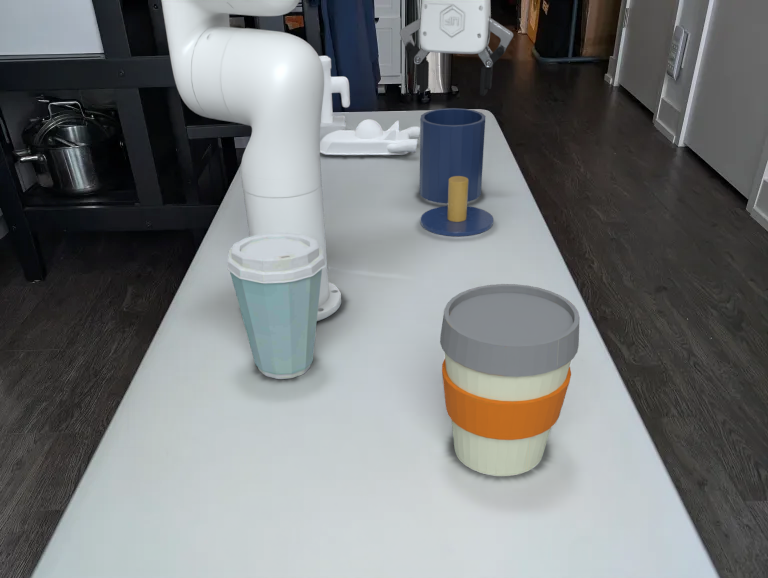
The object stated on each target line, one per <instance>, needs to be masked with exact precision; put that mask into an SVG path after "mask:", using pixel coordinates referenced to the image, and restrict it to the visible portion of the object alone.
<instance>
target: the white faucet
mask: <svg viewBox="0 0 768 578" xmlns="http://www.w3.org/2000/svg"><path fill="white" fill-rule="evenodd" d="M318 56H319V58H320V60H321V63H322V66H323V71H324V95H323V103H322V112H321V123H320V142H321V140H322V139H323V138H324V137H325V136H326V135H327V134H329V133H331V132H334V131H338V130H346V125H347V124H346V116H345V115H334V112H333V110H334V109H333V94H338V93H339V94H340V98H341V106H342V107H343V108H345V109H346V108H349V107H350V106H351V97H350V96H351V93H350V82H349V79H348V78H347V77H346V76H344V75H343V76H332V74H331V70H332V59H331V57H330V56H328V55H318Z"/></svg>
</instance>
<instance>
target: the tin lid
mask: <svg viewBox="0 0 768 578" xmlns="http://www.w3.org/2000/svg"><path fill="white" fill-rule="evenodd" d="M467 197H468V178H466V177H463V176H454V177H451V178H449V184H448V204H447V205H444V206H438V207H434V208H431V209H429V210H427V211H425V212H424V213H423V214H422V215H421V216H420V225H421V227H422V228H423V229H424V230H426V231H428V232H430V233H432V234H436V235H440V236H448V237H467V236H475V235H478V234H482V233H485V232H487V231H489V230H490V229H491V228H492V227H493V225H494V217H493V215H492V214H491V213H489V211H486V210H484V209H481V208H478V207H474V206H469V205H468V202H467Z"/></svg>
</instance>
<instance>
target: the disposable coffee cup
mask: <svg viewBox="0 0 768 578" xmlns="http://www.w3.org/2000/svg"><path fill="white" fill-rule="evenodd" d="M227 253H228V255H227V267H226V270H227V271H228V272H229V274H230V277H231V281H232V284H233V285H232V286H233V288H234V292H235V295H236V299H237V303H238V306H239V309H240V313H241V316H242V317H241V318H242V322H243V325H244V328H245V332H246V335H247V336H246V337H247V340H248V342H249V347H250V350H251V353H252V357H253V361H254V365H255V366H256V367H257V369H258V371H259V372H260V373H262V375H264V376H265V377H268V378H273V379H276V380H284V379H285V380H286V379H294V378H297V377H300V376H303V375H305V374H306V372H308V371H309V369H311V365H312V364H313V360H314V350H315V343H316V342H315V339H316V333H317V322H318V321H317V313H318V303H319V293H320V284H321V274H322V268H324V267H325V259H324V255H323V249H322V247H321V246H319V245H318V241H317V240H315V239H313V238H311V237H309V236H306V235H302V234H294V233H287V232H283V233H264V234H259V235H255V236H251V237H249V236H246V237H244V238H242V239H240V240H239V241H237V242H235V243H234V244H232V245H231V248H230V249H229V250H228V252H227Z"/></svg>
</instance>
